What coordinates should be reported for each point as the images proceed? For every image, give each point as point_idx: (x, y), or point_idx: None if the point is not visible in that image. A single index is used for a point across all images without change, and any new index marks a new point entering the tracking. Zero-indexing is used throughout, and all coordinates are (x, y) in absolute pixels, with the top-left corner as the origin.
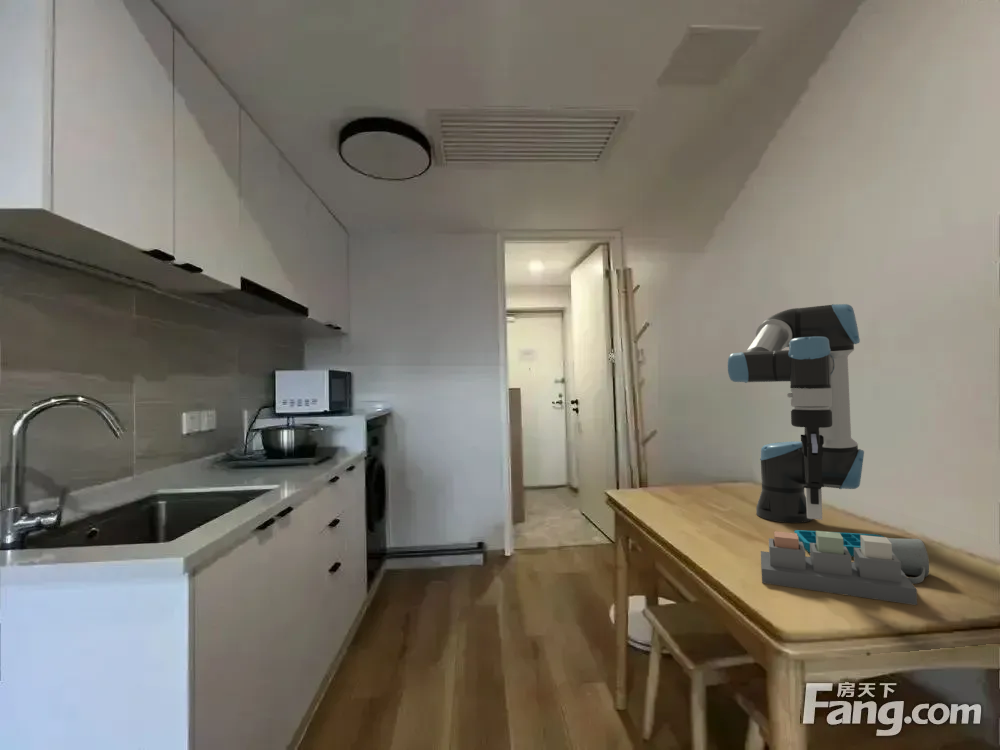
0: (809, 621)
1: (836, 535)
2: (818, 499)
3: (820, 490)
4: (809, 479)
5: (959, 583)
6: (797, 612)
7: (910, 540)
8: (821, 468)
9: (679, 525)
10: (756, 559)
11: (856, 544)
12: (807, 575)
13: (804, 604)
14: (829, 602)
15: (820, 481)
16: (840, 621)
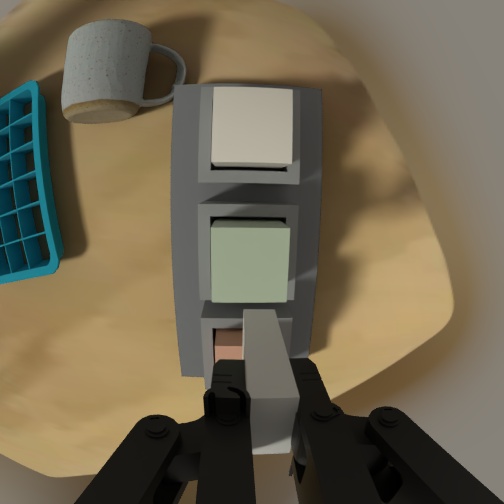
0: (431, 290)
1: (251, 243)
2: (310, 373)
3: (296, 394)
4: (402, 481)
5: (153, 10)
6: (408, 305)
7: (93, 41)
8: (488, 490)
9: (56, 444)
10: (160, 365)
11: (15, 161)
12: (314, 296)
13: (378, 295)
14: (358, 253)
15: (418, 437)
16: (423, 247)
